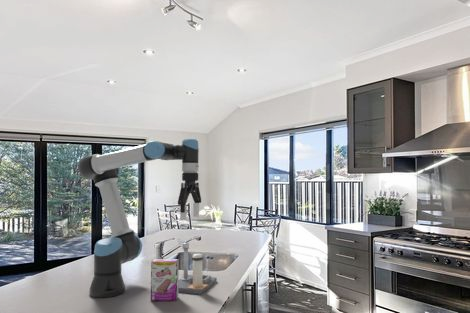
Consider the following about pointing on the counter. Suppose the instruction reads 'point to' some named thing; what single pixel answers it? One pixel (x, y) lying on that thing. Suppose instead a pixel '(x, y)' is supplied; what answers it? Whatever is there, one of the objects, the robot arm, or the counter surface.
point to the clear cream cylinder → (197, 270)
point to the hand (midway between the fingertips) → (190, 218)
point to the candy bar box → (164, 279)
